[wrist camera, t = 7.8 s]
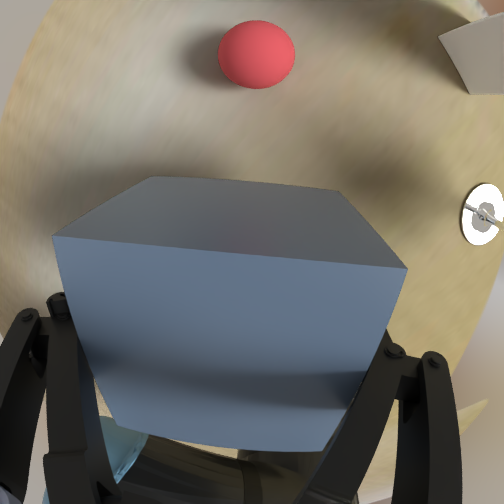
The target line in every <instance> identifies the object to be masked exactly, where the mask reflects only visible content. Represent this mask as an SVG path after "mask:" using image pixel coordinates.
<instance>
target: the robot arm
mask: <svg viewBox="0 0 504 504" xmlns="http://www.w3.org/2000/svg"><path fill="white" fill-rule="evenodd" d="M46 304H47V307H48V310H49V313H50V315H51V317H40V316H39V313H38V311H37V310H36V309H34V308H27V309H24V310H22V311H21V312H19V314H18V315H17V316H16V318H15V320H14V321H13V323H12V325H11V327H10V329H9V330H8V332H7V334H6V336H5V338H4V340H3V342H2V344H1V346H0V504H23V502H24V498H25V494H26V490H27V483H28V476H29V468H30V460H31V454H32V448H33V442H34V437H35V432H36V427H37V422H38V418H39V413H40V409H41V405H42V401H43V397H44V393H45V389H46V405H47V407H46V408H47V428H48V429H47V430H48V443H49V452H48V454H45V455H44V457H43V467H44V474H45V481H46V489H45V493H44V497H43V502H42V504H359V500H358V493H357V491H358V489H359V487H360V485H361V482H362V480H363V478H364V476H365V474H366V472H367V470H368V467H369V465H370V463H371V461H372V458H373V456H374V454H375V451H376V449H377V446H378V444H379V441H380V439H381V436H382V433H383V431H384V428H385V425H386V423H387V420H388V417H389V414H390V411H391V408H392V405H393V402H394V399H397V400H399V413H398V442H397V457H396V469H395V479H394V487H393V495H392V502H391V504H462V461H461V447H460V436H459V427H458V419H457V412H456V405H455V399H454V393H453V388H452V383H451V377H450V373H449V368H448V363H447V361H446V359H445V358H444V357H443V356H442V355H441V354H439V353H437V352H434V351H428V352H425V353H424V354H423V356H422V358H421V359H420V358H416V357H411V356H407V355H406V352H405V351H404V349H403V348H402V347H401V346H400V345H398V344H396V343H393V342H392V340H391V338H390V336H389V333H388V331H387V329H386V330H385V332H384V335H383V337H382V339H381V342H380V344H379V346H378V348H377V351H376V353H375V355H374V357H373V359H372V362H371V364H370V366H369V368H368V370H367V372H366V374H365V376H364V378H363V380H362V383H361V385H360V386H359V388H358V390H357V392H356V394H355V396H354V398H353V399H352V401H351V403H350V405H349V407H348V409H347V410H346V412H345V414H344V416H343V417H342V419H341V421H340V423H339V424H338V426H337V428H336V429H335V431H334V433H333V434H332V436H331V438H330V439H329V441H328V442H327V444H326V446H325V447H324V449H323V450H322V451H313V452H281V451H258V450H244V449H238V454H237V459H236V458H232V457H228V456H224V455H220V454H216V453H212V452H209V451H205V450H201V449H198V448H195V447H191V446H188V445H185V444H182V443H179V442H176V441H173V440H170V439H167V438H164V437H159V436H155V435H151V434H147V433H143V432H139V431H135V430H131V429H128V428H124V427H121V426H117V424H116V422H115V420H114V419H113V418H111V417H107V416H99V411H98V406H97V399H96V393H95V386H94V378H93V373H92V371H91V369H90V366H89V364H88V361H87V359H86V356H85V353H84V351H83V348H82V345H81V343H80V340H79V337H78V334H77V331H76V328H75V325H74V322H73V319H72V316H71V313H70V309H69V306H68V302H67V299H66V295H65V292H59V293H56V294H54V295H52V296H50V297H49V298H48V299H47V301H46ZM29 353H30V354H29Z"/></svg>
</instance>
